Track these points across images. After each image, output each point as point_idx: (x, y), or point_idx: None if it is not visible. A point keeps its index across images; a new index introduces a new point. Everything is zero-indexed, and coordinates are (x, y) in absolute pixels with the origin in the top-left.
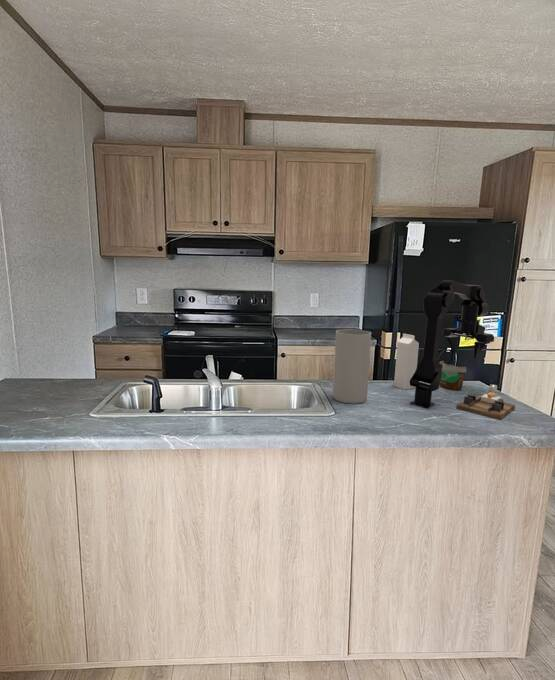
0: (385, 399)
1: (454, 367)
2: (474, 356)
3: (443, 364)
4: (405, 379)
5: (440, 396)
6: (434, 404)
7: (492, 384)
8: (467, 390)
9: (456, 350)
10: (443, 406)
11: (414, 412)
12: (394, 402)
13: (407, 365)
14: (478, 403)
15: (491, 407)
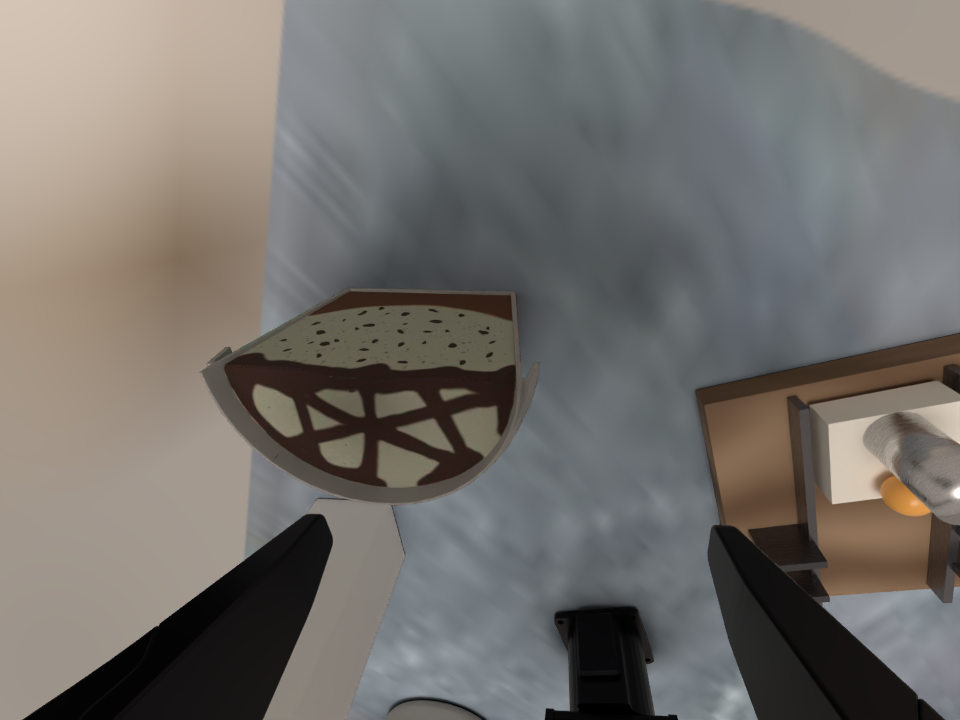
0: (491, 674)
1: (467, 479)
2: (725, 610)
3: (357, 500)
4: (385, 609)
5: (556, 503)
6: (638, 612)
7: (954, 488)
8: (538, 249)
9: (287, 559)
10: (674, 596)
11: (654, 700)
12: (533, 676)
13: (349, 703)
14: (819, 514)
15: (952, 573)
